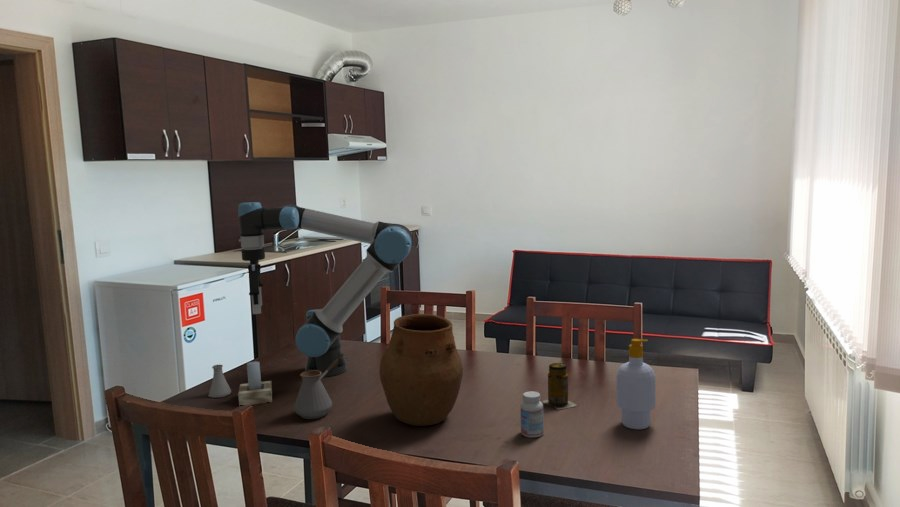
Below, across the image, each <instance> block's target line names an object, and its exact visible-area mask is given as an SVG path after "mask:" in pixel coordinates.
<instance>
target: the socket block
mask: <svg viewBox="0 0 900 507" xmlns="http://www.w3.org/2000/svg"><path fill="white" fill-rule="evenodd" d="M272 384H273V383H272V380H267V381H266V380H265V381H261V388H262V389H258V390H250V391H249V386H248V382H247V383H240V384H239V389H238V394H237V396H238V397H237V398H238V406H239V407H241V406H240V405H245V406H252V405H259V404H260V403H261V404H268V403H267V402H270V403H272V402H273V386H272Z"/></svg>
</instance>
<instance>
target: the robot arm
mask: <svg viewBox="0 0 900 507" xmlns="http://www.w3.org/2000/svg"><path fill="white" fill-rule="evenodd" d="M237 206H238V209H237V210H238V213H237V214H238V217H237V218H238V224H239V236H240V238H239V239H238V242H239V243H240V247H241V248H242V249H241V259H242V261H245V262H249V264H248V266H247V270H248V276H249V277H248V278H249V281H250V292H248V295H249V296H251V298H250V299H251V307H252V308H251V310H252V315H259V314H260V315H261V314H262V306H263V298H262V297H263V296H262V287H263V286H264V285H263V283H262V281H261V264H259V263H260V261H262V260H264V259H265V258H266V250H265V248H264V247H265V237H264V231H267V230H268V231H273V230H274V231H275V230H277V231H278V230H281V231H282V230H285V231H287V230H294V229H299V230H305V231H311V232H313V233H319V234H324V235H326V236H327V235H328V236H332V237H336V238H342V239H346V240H351V241H354V242H358V243H365V244H367V245H369V246H368V247H367V249H365V250H366V257H365V258H364V259H362V261H361V263H360V264H359V265H358V266H357V267H356V269H355V270H354V271H353V272H352V273H351V274H350V276H349V277H348V278H347V280H345V282H344V283H343V284H342V285H341V286H340V288H339V289H338V290H337V291H336V293H335V294H334V295H333V296H332V297H331V298H330V300H329V301H328V302H327V303H326V305H324V307H323V308H319V309H310V310H307V311H306V312H305V313H306V314H305V319H306V322H304V323H303V325H302V326H300V327H299V329H298V330H297V333H296V335H295V345H296V347H297V350H299V351H300V353H301V354H303V355H304V356H307V357H306V362H305V365H304V372H305V371H311V370H318V371H321V372H322V374H323V373H324V372H325V371H326V370H327V368H328V367H329V366H330V365H331V364H332V363H333V362H334V361H335V360H336V359H337V357H339V356H340V355H341V354H344V353H343V351H342V344H341V334H342V332H343V331H344V330H343V325H344V323H345V322H346V321H347V320H348V318H349V317H350V316H351V315H352V314H353V313H354V311H355V310H356V309H357V308H358V307H359V306H360V304H361V303H362V302H363V301H364V300H365V298H366V297H367V296H368V295H369V294H370V293H371V291H372V290H373V289H374V287H375V286H376V285H377V284H378V283H379V282H380V280H382V279H383V277H384V276H385V275H386V274H387V273H393V272H394V271H395V270H396V269H397V267H398V266H399V265H400V264H401V263H402V261H404V260H405V259H407V257H408V256H409V254H410V253H411V251H412V250H411V249H412V247H413V243H414V237H413V234H412V232H411V230H410V229H409V228H408V227H407V226H405V225H403V224H400V223H390V222H383V221H379V220H378V221H377V222H371V221H366V220H360V219H356V218H351V217H348V216H343V215H337V214H333V213H329V212H325V211H320V210H315V209H310V208H306V207H305V208H304V207H300V206H299V205H296V204H286V205H283V206H278V207H277V206H276V207H263V206H262V203H261V202H260V201H259V202H258V201H257V202H256V201H255V202H254V201H253V202H250V201H249V202H248V201H247V202H242V203H239V204H238V205H237ZM343 358H345V354H344V355H343ZM343 358H342V357H341V360H339V361H338V362H337V364H336V365H335V366H334V367H333V368H332V369H331V370H330V371H329V372H327V374H326V375H325V376H324V377H325V378H326V377H332V376H337V375H341V374H343V373H345V372H346V371H347V369H348V365H347V364H348V363H347V361H346V359H343ZM322 374H321V375H322ZM324 377H323V378H324Z"/></svg>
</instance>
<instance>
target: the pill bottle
mask: <svg viewBox="0 0 900 507" xmlns="http://www.w3.org/2000/svg"><path fill="white" fill-rule="evenodd" d="M522 399H523V401H522V402H521V403H520V433H521V435H522V436H524V437H525V438H530V439H532V438H539V437H542V436H543V435H544V431H545V430H544V405H543V404H544V403H543V402H542V401H541V394H540V393H539V391H533V390H531V391H526V392H524V393H522Z"/></svg>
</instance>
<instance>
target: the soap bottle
mask: <svg viewBox="0 0 900 507" xmlns="http://www.w3.org/2000/svg"><path fill="white" fill-rule="evenodd" d="M648 341H649V339H640V338H632V339H631V342H630V344H629V345H628V354H629V355H628V361H627V362H624V363H622V364H621V365H620V366H619V369H618V370H617V372H616V374H617V375H616V405H617V407H619V408H620V409H621V423H622V425H623V426H624V427H626V428H628V429H631V430H645V429H648V428H649V427H650V426H651V411H652V410H654V409H655V408H656V386H657V385H656V380H657V379H656V374H655V371H654V369H653V368H652V367H651V365H650V364H648V363H645V362H644V345H643V344H641V343H643V342H644V343H646V342H648Z"/></svg>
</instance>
